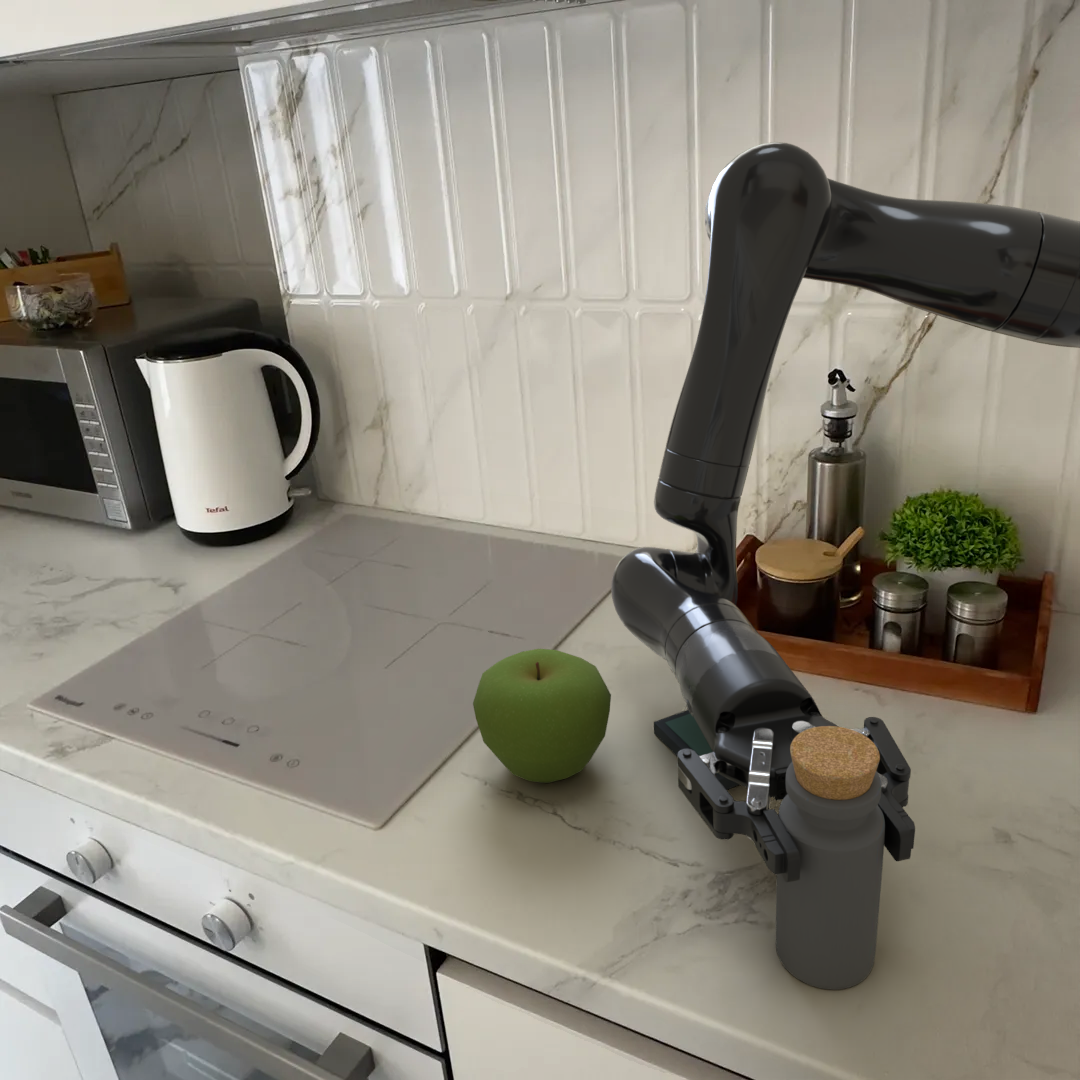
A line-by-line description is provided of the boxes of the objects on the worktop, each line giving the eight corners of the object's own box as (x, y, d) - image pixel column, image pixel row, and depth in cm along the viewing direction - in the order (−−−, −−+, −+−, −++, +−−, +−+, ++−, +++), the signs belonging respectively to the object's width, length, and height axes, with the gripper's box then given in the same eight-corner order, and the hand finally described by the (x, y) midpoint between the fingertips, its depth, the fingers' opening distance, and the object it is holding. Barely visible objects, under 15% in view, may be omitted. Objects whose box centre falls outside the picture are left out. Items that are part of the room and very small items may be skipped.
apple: (641, 774, 76) (636, 665, 72) (529, 831, 71) (516, 718, 67) (563, 712, 85) (555, 612, 81) (458, 760, 80) (443, 655, 76)
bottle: (792, 902, 63) (798, 709, 57) (885, 934, 60) (902, 734, 54) (761, 968, 59) (764, 766, 53) (860, 1006, 56) (876, 797, 50)
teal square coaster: (744, 701, 84) (744, 688, 84) (811, 756, 77) (812, 743, 76) (653, 733, 81) (653, 720, 81) (715, 794, 73) (714, 780, 73)
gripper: (640, 664, 66) (724, 828, 51) (841, 632, 68) (980, 781, 53) (644, 754, 69) (724, 935, 54) (836, 721, 71) (966, 887, 56)
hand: (850, 858), depth 53 cm, fingers closed on bottle, 6 cm apart
